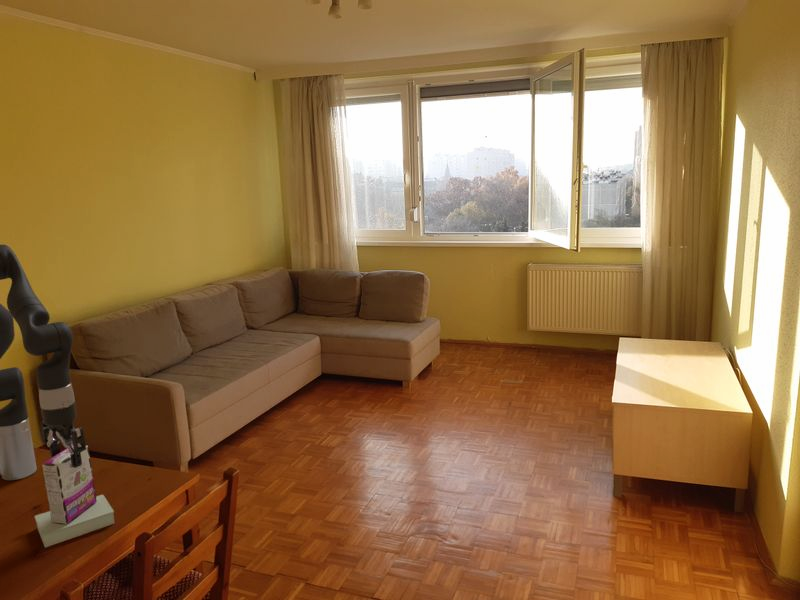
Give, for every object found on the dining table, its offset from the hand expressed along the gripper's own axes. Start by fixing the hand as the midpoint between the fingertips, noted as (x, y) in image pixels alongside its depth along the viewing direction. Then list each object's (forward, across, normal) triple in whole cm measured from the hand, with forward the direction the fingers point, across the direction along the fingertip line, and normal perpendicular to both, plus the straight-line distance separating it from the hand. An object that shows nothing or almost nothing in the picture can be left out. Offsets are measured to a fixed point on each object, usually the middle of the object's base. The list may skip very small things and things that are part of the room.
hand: (66, 462), depth 156 cm
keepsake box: (+18, 0, 0) cm, 18 cm away
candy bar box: (+14, 0, 0) cm, 14 cm away
